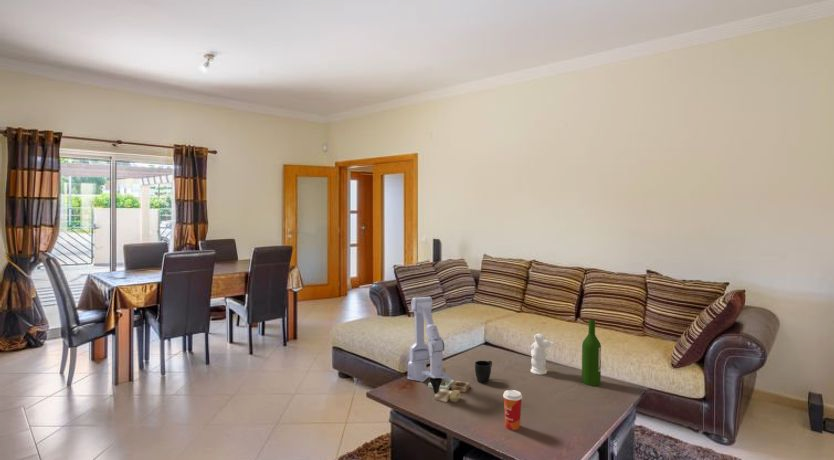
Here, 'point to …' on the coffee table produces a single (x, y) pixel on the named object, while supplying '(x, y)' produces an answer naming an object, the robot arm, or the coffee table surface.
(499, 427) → the coffee table surface
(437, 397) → the beige rectangular box
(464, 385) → the socket block
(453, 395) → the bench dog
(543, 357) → the cherub figurine
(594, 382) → the wine bottle
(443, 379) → the dowel
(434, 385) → the robot arm
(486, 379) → the mug
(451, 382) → the tray
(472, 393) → the coffee table surface
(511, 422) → the paper cup
